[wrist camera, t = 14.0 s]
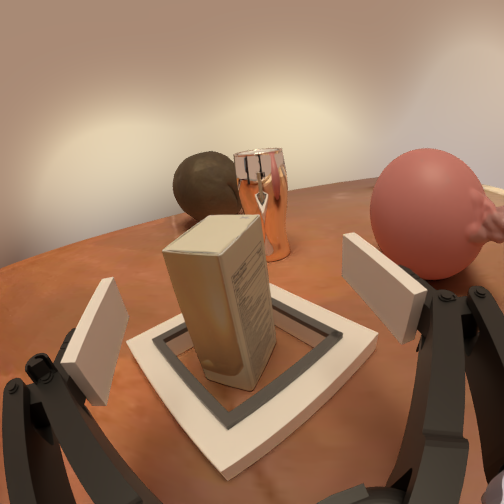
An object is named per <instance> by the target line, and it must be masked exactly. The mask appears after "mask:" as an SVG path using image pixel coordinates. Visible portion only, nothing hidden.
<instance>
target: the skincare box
mask: <svg viewBox="0 0 504 504" xmlns="http://www.w3.org/2000/svg"><path fill="white" fill-rule="evenodd" d="M162 253H163V256H164V259H165V263H166V266H167V269H168V273H169V276H170V279H171V282H172V285H173V288H174V291H175V294H176V297H177V300H178V303H179V306H180V309H181V312H182V315H183V318H184V321H185V323H186V326H187V329H188V332H189V335H190V337H191V340H192V342H193V345H194V347H195V350H196V353H197V355H198V358H199V361H200V363H201V366H202V368H203V371H204V373H205V376H206V378H207V379H209V380H212V381H215V382H218V383H221V384H224V385H228V386H231V387H235V388H239V389H243V390H247V391H252V390H253V389H254V388H255V386H256V384H257V382H258V380H259V378H260V376H261V374H262V372H263V370H264V368H265V366H266V364H267V362H268V360H269V357H270V355H271V353H272V350H273V348H274V346H275V343H276V333H275V325H274V317H273V309H272V301H271V293H270V285H269V277H268V269H267V261H266V254H265V246H264V239H263V231H262V224H261V217H260V215H209V216H207V217H206V218H205V219H203V220H202V221H200V222H199V223H197V224H196V225H195V226H193V227H192V228H191V229H189V230H188V231H186V232H185V233H184V234H182V235H181V236H180V237H178V238H177V239H176V240H174V241H173V242H172V243H171V244H169V245H168V246H167V247H166V248H164V249H163V250H162Z"/></svg>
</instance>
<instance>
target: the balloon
mask: <svg viewBox="0 0 504 504" xmlns="http://www.w3.org/2000/svg"><path fill="white" fill-rule="evenodd" d="M370 219H371V225H372V230H373V233H374V236H375V239H376V241H377V243H378V245H379V247H380V249H381V250H382V252H383V253H384V255H385V256H386V257H388V258H389V259H390V260H391V261H393V262H394V263H395V264H396V265H402V266H405V267H407V268H409V269H411V270H412V271H413V272H414V273H415V274H417V275H418V276H420V278H422V279H426V280H438V279H444V278H448V277H451V276H453V275H455V274H457V273H459V272H461V271H462V270H464V269H465V268H466V267H467V266H469V265H470V264H471V263H472V262H473V260H474V259H475V258H476V257H477V255H478V254H479V252H480V250H481V248H482V246H483V245H484V244H485V243H486V242H489V241H494V242H496V243H503V242H504V206H501V207H496V206H495V204H494V203H493V202H492V201H491V200H490V199H489V198H488V197H487V196H486V195H485V192H484V190H483V187H482V185H481V183H480V181H479V180H478V178H477V176H476V175H475V174H474V172H473V171H472V170H471V169H470V168H469V167H468V166H467V165H466V164H465V163H464V162H463V161H461V160H460V159H459V158H457V157H455V156H454V155H452V154H450V153H447V152H445V151H441V150H436V149H429V148H428V149H427V148H425V149H416V150H412V151H409V152H407V153H404V154H402V155H400V156H399V157H397V158H396V159H394V160H393V161H392V162H391V163H390V164H389V165H388V166H387V167H386V168H385V169H384V170H383V172H382V173H381V175H380V176H379V178H378V180H377V182H376V184H375V187H374V189H373V193H372V197H371V204H370Z"/></svg>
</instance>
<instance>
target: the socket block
mask: <svg viewBox="0 0 504 504" xmlns="http://www.w3.org/2000/svg"><path fill="white" fill-rule="evenodd" d="M269 285H270V293H271V301H272V309H273V317H274V325H276V326H277V327H279V328H281V329H282V330H284V331H286V332H288V333H289V334H291V335H293V336H294V337H296V338H298V339H300V340H301V341H303V342H305V343H307V344H308V345H310V346H312V347H314V348H313V349H312V350H311V351H310V352H309V353H307V354H306V355H305V356H304V357H303V358H301V359H300V360H299V361H298V362H296V363H295V364H294V365H293V366H292V367H290V368H289V369H288V370H286V371H285V372H284V373H283V374H281V375H280V376H279V377H277V378H276V379H275V380H274V381H272V382H271V383H270V384H268V385H267V386H266V387H264V388H263V389H262V390H260V391H259V392H257V393H256V394H255V395H253V396H252V397H251V398H249V399H248V400H246V401H245V402H243V403H242V404H241V405H239V406H238V407H236V408H235V409H233V410H232V411H230V412H228V411H227V410H226V409H225V408H224V407H223V406H222V405H221V404H220V403H219V402H218V401H217V400H216V399H215V398H214V397H213V396H212V395H211V394H210V393H209V392H208V391H207V390H206V389H205V388H204V387H203V386H202V384H201V383H200V382H199V381H198V380H197V379H196V378H195V377H194V376H193V375H192V374H191V372H190V371H189V370H188V369H187V368H186V367H185V366H184V365H183V363H182V362H181V361H180V360H179V359H178V358H177V355H179V354H181V353H183V352H185V351H186V350H188V349H190V348H192V347H194V345H193V342H192V340H191V337H190V335H189V332H188V329H187V326H186V323H185V321H184V318H183V315H182V313H181V314H179V315H177V316H175V317H173V318H171V319H169V320H167V321H165V322H163V323H161V324H159V325H157V326H156V327H154V328H152V329H150V330H148V331H146V332H144V333H142V334H140V335H138V336H136V337H134V338H132V339H130V340H128V341H126V343H127V345H128V346H129V348H130V350H131V352H132V354H133V356H134V358H135V359H136V361H137V363H138V364H139V366H140V368H141V369H142V371H143V372H144V374H145V376H146V377H147V379H148V380H149V382H150V383H151V385H152V387H153V388H154V390H155V391H156V393H157V394H158V395H159V397H160V398H161V400H162V401H163V403H164V404H165V406H166V407H167V408H168V410H169V411H170V413H171V414H172V415H173V417H174V418H175V419H176V421H177V422H178V423H179V425H180V426H181V427H182V429H183V430H184V431H185V432H186V434H187V435H188V436H189V438H190V439H191V440H192V441H193V442H194V444H195V445H196V446H197V447H198V449H199V450H200V451H201V452H202V453H203V454H204V456H205V457H206V458H207V459H208V460H209V461H210V462H211V464H212V465H213V466H214V467H215V468H216V469H217V470H218V471H219V472H220V473H221V475H222V476H223V477H224V478H225V479H226V480H227V481H229V480H230V479H232V478H233V477H235V476H236V475H238V474H239V473H241V472H242V471H243V470H245V469H246V468H248V467H249V466H251V465H252V464H253V463H255V462H256V461H257V460H259V459H260V458H261V457H263V456H264V455H265V454H267V453H268V452H269V451H271V450H272V449H273V448H274V447H276V446H277V445H278V444H280V443H281V442H282V441H283V440H284V439H286V438H287V437H288V436H289V435H290V434H292V433H293V432H294V431H295V430H296V429H297V428H299V427H300V426H301V425H302V424H303V423H304V422H305V421H307V420H308V419H309V418H310V417H311V416H312V415H313V414H314V413H315V412H316V411H317V410H319V409H320V408H321V407H322V406H323V405H324V404H325V403H326V402H327V401H328V400H329V399H330V398H331V397H332V396H333V395H334V394H335V393H336V392H337V391H338V390H339V389H340V388H341V387H342V386H343V385H344V384H345V383H346V382H347V381H348V380H349V379H350V377H351V376H352V375H353V374H354V373H355V372H356V371H357V370H358V369H359V368H360V367H361V365H362V364H363V363H364V362H365V361H366V360H367V359H368V357H369V356H370V355H371V354H372V353H373V352H374V350H375V348H376V343H377V338H378V333H377V332H375V331H373V330H371V329H368V328H366V327H364V326H362V325H359V324H357V323H355V322H353V321H351V320H348V319H346V318H344V317H342V316H340V315H337V314H335V313H333V312H331V311H329V310H326V309H324V308H322V307H320V306H318V305H316V304H313V303H311V302H309V301H307V300H305V299H303V298H301V297H298V296H296V295H294V294H292V293H290V292H288V291H286V290H283V289H281V288H279V287H277V286H275V285H273V284H271V283H269Z"/></svg>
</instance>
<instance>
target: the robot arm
mask: <svg viewBox="0 0 504 504" xmlns="http://www.w3.org/2000/svg"><path fill="white" fill-rule="evenodd" d="M342 277H343V278H344V279H345V280H346V281H347V282H348V283H349V285H350V286H351V287H352V288H353V289H354V290H355V291H356V292H357V293H358V295H359V296H360V297H361V298H362V299H363V300H364V301H365V303H366V304H367V305H368V306H369V307H370V308H371V309H372V311H373V312H374V313H375V314H376V315H377V316H378V318H379V319H380V320H381V321H382V322H383V323H384V325H385V326H386V327H387V328H388V329H389V330H390V332H391V333H392V334H393V335H394V336H395V338H396V339H397V340H398V341H399V342H400V344H401V345H402V344H405V343H407V342H409V341H412V340H414V338H415V335H416V331H417V330H418V331H419V332H420V333H421V334H422V335H421V338H420V341H419V344H418V347H417V350H416V352H418V351H419V353H418V362H417V370H416V377H415V384H414V390H413V395H412V401H411V406H410V411H409V416H408V420H407V425H406V429H405V433H404V437H403V441H402V445H401V448H400V452H399V455H398V459H397V462H396V465H395V467H394V469H393V471H392V473H391V475H390V477H389V479H388V481H387V483H386V486H385V487H368V488H365V486H364V484H360V485H358V486H355V487H353V488H350V489H347V490H345V491H342V492H339V493H336V494H333V495H331V496H329V497H327V498H325V499H324V500H322V501H320V502H318V503H317V504H459V500H460V496H461V491H462V487H463V482H464V477H465V471H466V465H467V459H468V451H469V442H468V439H465V438H463V424H464V409H465V372H466V376H467V379H468V383H469V387H470V391H471V395H472V399H473V404H474V408H475V413H476V418H477V424H478V429H479V435H480V442H481V450H482V458H483V465H484V472H485V476H486V480H487V483H488V486H487V489H486V492H485V493H484V494H483V495H482V497H481V502H482V504H504V315H503V313H502V311H501V310H500V308H499V306H498V304H497V303H496V301H495V300H494V298H493V296H492V295H491V293H490V292H489V291H488V290H487V289H485V288H484V287H482V286H472V287H471V288H469V291H468V295H467V296H463V297H457V296H456V295H455V294H454V293H453V292H451V291H448V290H436V289H434V288H433V287H432V286H431V285H429V284H428V283H427V282H426V281H425V280H423V279H422V278H420V276H418V275H417V274H415V273H414V272H413V271H412V270H411V269H409V268H407V267H405V266H402V265H396V264H395V263H394V262H393V261H391V260H390V259H389V258H388V257H386V256H385V255H384V254H382V253H381V252H380V251H378V250H377V249H376V248H375V247H373V246H372V245H371V244H369V243H368V242H367V241H365V240H364V239H362V238H361V237H360V236H358V235H357V234H356V233H348V234H343V254H342ZM128 319H129V315H128V312H127V310H126V308H125V305H124V303H123V300H122V298H121V295H120V293H119V290H118V288H117V285H116V282H115V280H114V277H111V278H105V279H102V280H101V282H100V284H99V285H98V287H97V289H96V291H95V293H94V294H93V296H92V298H91V300H90V302H89V304H88V306H87V308H86V309H85V311H84V313H83V315H82V317H81V319H80V321H79V323H78V325H77V327H76V328H73V329H72V330H71V331H70V332H69V333H68V334H67V335H66V337H65V339H64V341H63V344H62V346H61V348H60V350H59V352H58V354H57V356H56V358H55V361H54V363H52V361H51V360H50V358H49V357H48V355H47V354H45V353H39V354H36V355H34V356H33V357H32V358H30V359H29V361H28V362H27V364H26V366H25V371H26V373H27V374H28V375H29V377H30V378H31V379H32V381H33V382H34V383H32V384H29V385H25V383H24V382H23V381H22V380H21V379H20V378H14V379H12V380H10V381H9V382H8V383H7V384H6V386H5V388H4V392H3V412H2V436H3V455H4V466H5V475H6V482H7V489H8V494H9V500H10V504H76V502H75V499H74V496H73V493H72V490H71V487H70V483H69V480H68V477H67V473H66V469H65V466H64V462H63V458H62V454H61V449H60V446H61V448H62V450H63V452H64V454H65V456H66V457H67V459H68V461H69V463H70V465H71V467H72V468H73V470H74V472H75V474H76V475H77V477H78V479H79V480H80V482H81V484H82V485H83V487H84V489H85V490H86V492H87V493H88V495H89V496H90V498H91V499H92V501H93V502H94V504H163V503H162V502H161V501H160V500H159V499H158V498H157V497H156V496H155V495H154V494H153V493H152V492H151V491H150V490H149V489H148V488H147V487H146V486H145V484H144V483H143V482H142V481H141V480H140V479H139V478H138V477H137V475H136V474H135V473H134V472H133V471H132V470H131V468H130V467H129V466H128V465H127V463H126V462H125V461H124V460H123V458H122V457H121V456H120V455H119V453H118V452H117V451H116V449H115V448H114V447H113V445H112V444H111V443H110V441H109V440H108V439H107V437H106V436H105V434H104V433H103V431H102V430H101V428H100V427H99V425H98V424H97V422H96V421H95V419H94V418H93V416H92V415H91V413H90V412H89V410H88V408H87V407H86V406H85V405H84V403H85V400H86V398H87V400H88V401H89V402H90V403H91V405H92V406H107V402H108V397H109V392H110V388H111V383H112V379H113V375H114V371H115V367H116V363H117V359H118V355H119V351H120V347H121V344H122V340H123V337H124V333H125V330H126V326H127V323H128ZM59 444H60V445H59Z"/></svg>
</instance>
